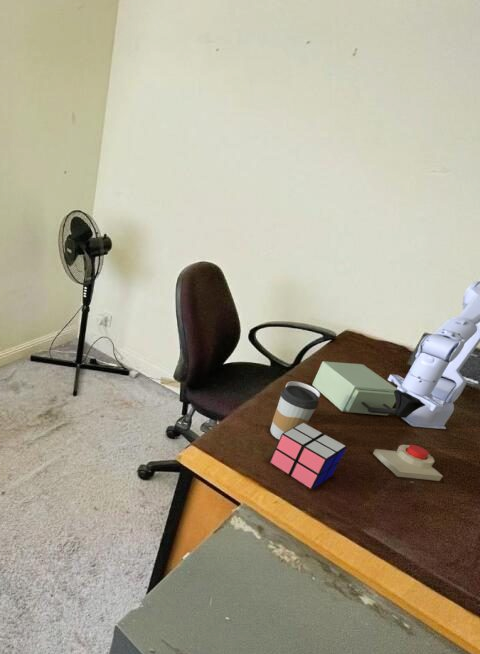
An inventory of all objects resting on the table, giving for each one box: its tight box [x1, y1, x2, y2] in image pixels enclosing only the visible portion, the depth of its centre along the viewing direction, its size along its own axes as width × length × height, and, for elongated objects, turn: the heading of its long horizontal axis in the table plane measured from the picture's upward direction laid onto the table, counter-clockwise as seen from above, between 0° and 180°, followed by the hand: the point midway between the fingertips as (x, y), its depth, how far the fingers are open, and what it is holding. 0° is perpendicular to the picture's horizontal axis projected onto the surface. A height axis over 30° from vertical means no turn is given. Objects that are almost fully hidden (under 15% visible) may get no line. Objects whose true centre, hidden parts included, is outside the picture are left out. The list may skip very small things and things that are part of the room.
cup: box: [284, 380, 321, 399], centre depth 124 cm, size 8×8×10 cm
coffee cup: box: [269, 385, 320, 440], centre depth 114 cm, size 8×8×15 cm
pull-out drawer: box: [346, 389, 396, 416], centre depth 129 cm, size 18×11×8 cm, turn 173°
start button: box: [407, 444, 430, 460], centre depth 107 cm, size 4×4×2 cm
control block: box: [372, 444, 444, 482], centre depth 107 cm, size 11×9×4 cm
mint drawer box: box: [311, 361, 398, 416], centre depth 132 cm, size 15×13×10 cm
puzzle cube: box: [269, 423, 348, 490], centre depth 104 cm, size 10×10×10 cm
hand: (400, 415), depth 116 cm, fingers closed
